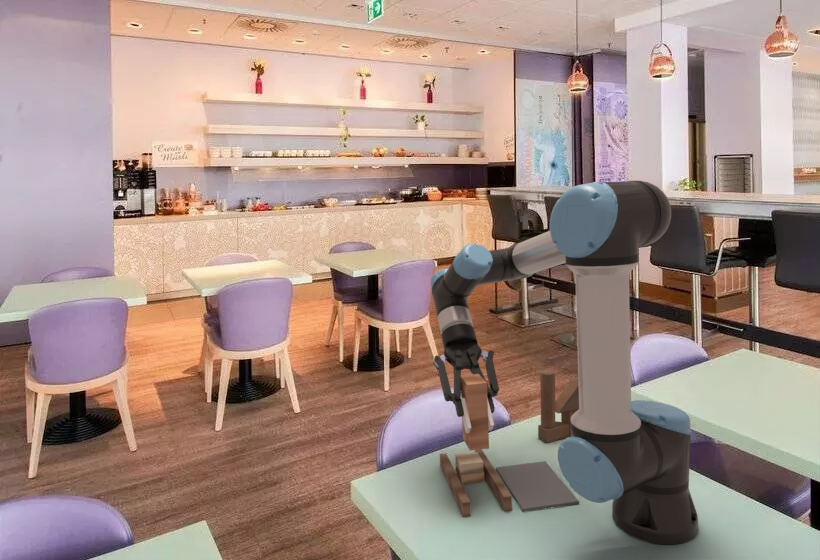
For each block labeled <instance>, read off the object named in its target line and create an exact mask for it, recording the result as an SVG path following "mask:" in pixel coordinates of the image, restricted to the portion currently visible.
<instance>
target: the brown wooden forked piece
mask: <svg viewBox="0 0 820 560" xmlns="http://www.w3.org/2000/svg"><path fill="white" fill-rule="evenodd" d="M539 374H540V380H539V381H540V382H539V383H540V384H539V385H540V387H539V388H540V424H539V425H538V424H537V425H538V426H537V434H538V435H537V437H538V439H539V440H541V441H543V442H544V443H546V444H547V443H551V442H556V441H560V440H564V439H566V438H567V437H571V416H572V415H573V414H574V413H575V412H576V411H577V410H579V383H578V381H577V380H576V379H573V378H571V379H570V381H568V383H567V384H566V386H565V387H564V388H563V390H562V391H561V393H560V394H559V395H558V397H557V399H556V373H555V371H554V370H552V369H544V370H541V371H540V373H539ZM556 414H560V415H561V417H560V418H561V420H560V421H557V420H556ZM563 438H564V439H563ZM559 439H560V440H559ZM555 440H556V441H555Z"/></svg>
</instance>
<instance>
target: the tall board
mask: <svg viewBox="0 0 820 560" xmlns="http://www.w3.org/2000/svg"><path fill="white" fill-rule="evenodd" d="M460 378H461V398H465V401H466V405H467V410H468V414H469V419H470V423H471V430H470V433H466V432H465V427H464V423H463V418H462V417H461V420H462V421H461V423H462V424H461V425H462V426H461V427H462V439H463V441H464V443H465V444H466V446H467V448H468V450H469V452H471V451H475V450H480V449H482V450H488V449H490V437H489V436H490V435H489V431H488V401H487V384H488V382H487V380H486V379H485V380H486V381H485V380H484V379H483V378H482V377H481V376H480V375H479V374H465V375H461V376H460Z"/></svg>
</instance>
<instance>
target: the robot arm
mask: <svg viewBox="0 0 820 560" xmlns="http://www.w3.org/2000/svg"><path fill="white" fill-rule="evenodd" d="M670 203H671V202H670V201H669V199H668V196H667V195H666V193H665V192H664V191H663V190H661V188H660V187H658V186H656V185H655V184H653V183H651V182H647V181H643V180H628V181H627V180H626V181H600V182H599V181H593V182H589V183H583V184H578V185H574V186H572V187H570V188H568V189H567V190H565V191H564V192H563V193H561V196H560V197H559V199H557V201H556V202H555V204H554V206H553V208H552V210H551V214H550V220H549V230H548V231H546V232H543V233H541V234H538V235H536V236H534V237H531V238H527V239H526V240H523V241H521V242H518V243H517V244H513V245H512V246H509V247H505V248H501V249H499V248H498V249H492V250H491V249H490V250H488V248H486V246H484V245H481V244H479V245H478V244H477V243H476V242H475V243H473V242H472V243H467V244H465V245H464V246H463V247H462V248H461V250H460V251H459V252H458V253H457V255H455V257H454V259H453V260H452V262H451V264H450V266H449V267H448V268H442V269H440V270H438V272H436V273H434V274H433V275H432V277H431V278H430V286H431V295H432V299H433V303H434V307H435V312H436V316H437V320H438V326H439V330H440V334H441V339H442V340H441V341H442V345H443V354H441V355H437V354H436V355H435V356H434V359H433V365H434V367H435V369H436V370H437V372H438V376H439V382H440V384H441V385H440V386H441V389H442V393H443V398H444V400H445V402H452V403H453V405H454V407H455V411H456V415H457V417H458V418H461V419H462V418H463V423H464V427H465V432H466V433H470V430H471V423H470V419H469V414H468V410H467V405H466V401H465V398H461V378H460V376H462V370H464V369H465V370H469V371H470V373H471V375H473V374H479V375H480V376H481V377H482V378H483V379H484V380H485V381H486V382H487V380H488V383H487V401H488V431H490V432H491V431H493V429H494V426H495V422H494V418H493V414H494V412H495V410H496V409H495V408H496V407H495V404H494V400H493V397H494V398H495V397H497V396H498V393H499V391H500V388H499V387H500V386H499V381H498V378H497V373H496V369H495V364H494V360H493V359H494V355H495V354H494V353H495V352H494V350H488V351H485V350H482V348H481V347H480V346H479V343H478V339H477V335H476V331H475V327H474V324H473V320H472V315H471V311H470V307H469V303H468V298H469V296H471V294H472V293H473V292H474V291H475V289H476V288H477V287H479V286H481V285H482V286H483V285H489V284H495V283H500V282H501V283H502V282H506V281H507V282H508V281H513V280H522V279H526V278H529V277H532V276H533V275H534V274H536V273H539V272H542V271H545V270H547V269H550V268H553V267H556V266H560V265H562V264H565V267H566V268H568V269H569V270H570V271H571V272H572V273H573V275H574V276H575V277H574V279H575V281H574V282H575V305H576V306H575V307H576V308H575V309H576V311H575V312H576V313H575V315H576V340H577V341H576V343H577V374H578V375H577V376H578V377H577V378H578V383H579V410H577V411H576V412H575V413H574V414H573V415H572V416H571V437H567V438H564V439H563V441H562V443H560V444H559V446H558V448H557V449H558V450H557V461H558V466H559V468H560V471H561V474H562V476H563V478H564V479H565V481H567V483H568V485H569V486H570V487H571V489H572V490H573V491H574V492H575V493H577V495H579V496H580V497H581V498H583V499H585V500H587V501H588V502H592V503H595V504H596V503H597V504H602V503H606V502H609V501H612V500H613V501H612V506H611V508H612V510H611V512H612V513H611V514H612V516H611V517H612V519H613V522H614V524H615V525H616V526H617V527H618V528H619V529H620V530H621V531H623V532H624V533H625V534H627V535H629V536H631V537H633V538H636V539H639V540H641V541H643V542H648V543H652V544H659V545H678V544H682V543H685V542H688V541H691V540H692V539H694V538H695V537H696V535H697V533H698V530H699V529H698V528H699V527H698V526H699V516H698V513H697V510H696V506H695V504H694V500H693V498H692V494H691V491H690V488H689V487H690V465H691V464H690V461H691V438H692V433H693V432H692V431H691V430H692V429H691V418H690V416H689V415H688V414H687V412H685V411H684V410H683V409H681V408H678V407H676V406H675V405H671V404H667V403H663V402H658V401H652V400H644V399H642V400H639V399H638V400H636V399H635V400H632V381H631V380H632V378H631V377H632V376H631V375H632V374H631V371H632V370H631V368H632V367H631V363H632V362H631V325H630V323H631V320H630V319H631V316H630V313H631V311H630V309H631V307H630V273H631V272H632V271H633V270H634V268H635V267H636V266H638V264H639V259H640V258H639V248H643V247H647V246H649V245H652V244H653V243H655V242H657V241H658V240H660V239H661V238H662V237H663V235H665V233H666V232H667V230H668V228H669V226H670V224H671V221H672V220H671V219H672V206H671V204H670ZM480 358H481V359H482V361H483V362H484V363H485V365H484V366H485V370H486V374H487V380H486V378H485V375H484V374H483V371H482V370H481V366H480V364H479V359H480ZM446 362H447V363H448V364H450V365H451V367H453V392H452V390H451V385H450V381H449V377H448V374H447V373H448V372H447V368H446Z"/></svg>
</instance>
